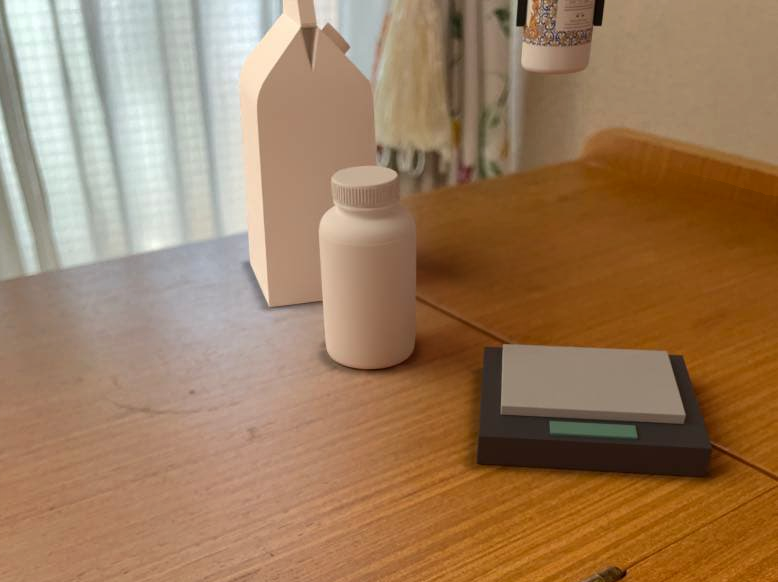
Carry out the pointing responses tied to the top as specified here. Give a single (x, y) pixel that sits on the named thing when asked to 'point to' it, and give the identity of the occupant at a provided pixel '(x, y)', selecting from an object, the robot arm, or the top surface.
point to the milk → (298, 146)
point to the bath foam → (557, 35)
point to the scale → (590, 411)
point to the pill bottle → (368, 270)
